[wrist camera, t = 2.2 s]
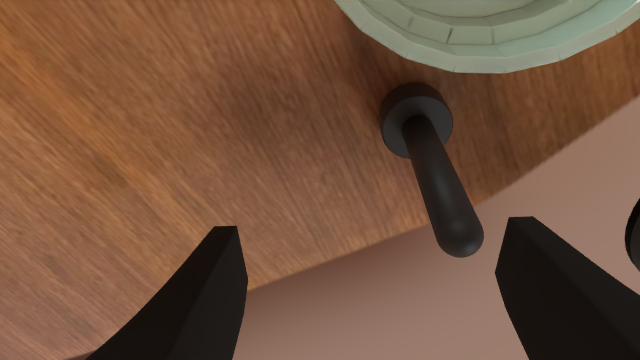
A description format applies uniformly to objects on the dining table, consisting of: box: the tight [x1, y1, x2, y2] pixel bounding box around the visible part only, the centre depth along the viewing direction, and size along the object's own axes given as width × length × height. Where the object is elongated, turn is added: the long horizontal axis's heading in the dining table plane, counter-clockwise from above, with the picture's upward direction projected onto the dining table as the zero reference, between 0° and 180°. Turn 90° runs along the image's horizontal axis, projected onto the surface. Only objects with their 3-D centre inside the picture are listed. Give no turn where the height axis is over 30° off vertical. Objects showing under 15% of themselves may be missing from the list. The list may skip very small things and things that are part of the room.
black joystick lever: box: [378, 83, 484, 258], centre depth 16 cm, size 3×3×10 cm
